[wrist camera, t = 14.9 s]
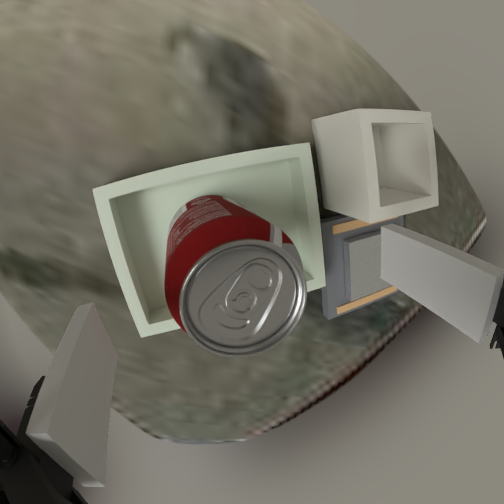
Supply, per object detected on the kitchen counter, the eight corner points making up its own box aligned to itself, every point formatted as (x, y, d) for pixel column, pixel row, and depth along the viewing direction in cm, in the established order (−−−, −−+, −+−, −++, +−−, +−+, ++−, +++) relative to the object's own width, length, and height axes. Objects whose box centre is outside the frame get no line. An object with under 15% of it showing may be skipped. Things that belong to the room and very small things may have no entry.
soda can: (151, 248, 22) (134, 329, 11) (200, 176, 21) (229, 188, 10) (219, 290, 24) (259, 385, 13) (267, 225, 24) (346, 279, 13)
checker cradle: (314, 220, 26) (322, 223, 24) (395, 202, 28) (404, 204, 26) (323, 314, 29) (329, 320, 28) (395, 286, 31) (402, 290, 30)
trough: (102, 186, 20) (92, 189, 17) (293, 144, 23) (309, 142, 20) (143, 319, 24) (141, 337, 21) (310, 273, 27) (325, 286, 24)
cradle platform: (343, 240, 25) (349, 243, 24) (391, 226, 27) (397, 229, 26) (345, 297, 27) (351, 301, 26) (390, 280, 29) (396, 283, 28)
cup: (310, 120, 23) (357, 108, 16) (379, 117, 24) (430, 112, 18) (323, 207, 25) (370, 223, 19) (388, 194, 27) (438, 205, 21)
